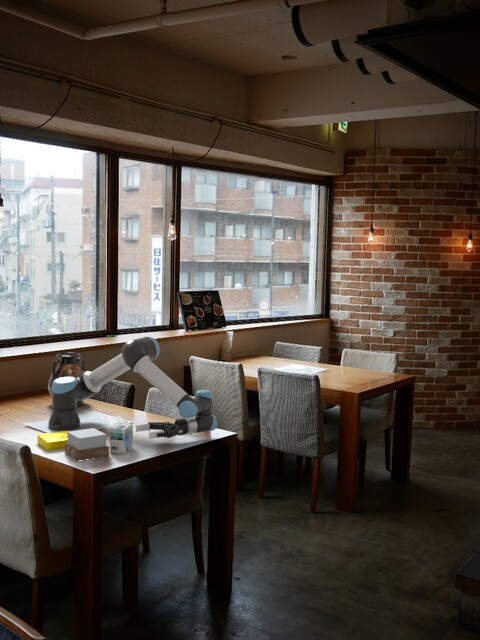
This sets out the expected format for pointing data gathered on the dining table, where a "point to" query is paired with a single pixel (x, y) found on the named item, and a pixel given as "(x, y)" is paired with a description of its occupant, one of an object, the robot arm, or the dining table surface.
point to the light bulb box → (121, 438)
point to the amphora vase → (66, 369)
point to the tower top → (86, 439)
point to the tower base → (86, 452)
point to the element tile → (53, 440)
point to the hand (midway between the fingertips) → (142, 432)
